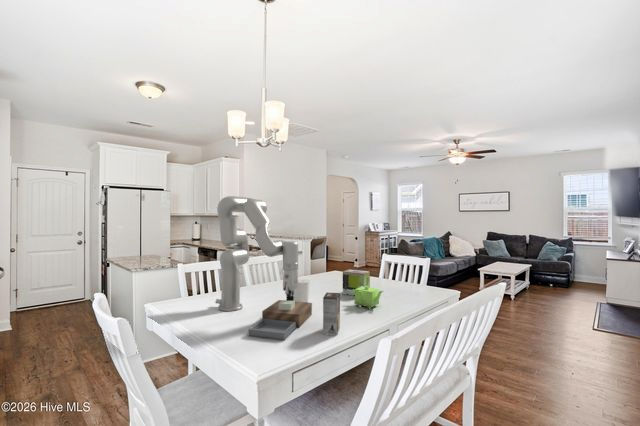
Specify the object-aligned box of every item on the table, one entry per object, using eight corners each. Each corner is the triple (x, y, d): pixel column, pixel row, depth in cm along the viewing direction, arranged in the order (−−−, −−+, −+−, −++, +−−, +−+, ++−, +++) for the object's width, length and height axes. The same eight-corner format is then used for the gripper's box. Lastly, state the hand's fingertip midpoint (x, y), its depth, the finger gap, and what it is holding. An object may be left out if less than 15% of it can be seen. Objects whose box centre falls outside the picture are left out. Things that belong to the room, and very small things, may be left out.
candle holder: (311, 302, 189) (312, 281, 189) (295, 304, 185) (295, 283, 185) (306, 298, 198) (306, 278, 198) (290, 300, 194) (290, 279, 194)
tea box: (370, 294, 211) (370, 271, 210) (363, 297, 202) (363, 273, 202) (349, 291, 219) (349, 268, 218) (341, 294, 210) (342, 270, 210)
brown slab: (262, 323, 152) (262, 311, 152) (278, 311, 172) (278, 300, 172) (299, 327, 148) (299, 314, 148) (311, 314, 167) (311, 302, 167)
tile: (278, 309, 155) (278, 303, 155) (283, 306, 160) (283, 300, 160) (290, 310, 153) (290, 304, 153) (294, 307, 159) (294, 300, 159)
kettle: (384, 309, 177) (384, 288, 177) (359, 311, 174) (359, 290, 174) (373, 301, 192) (373, 282, 192) (350, 303, 189) (350, 283, 189)
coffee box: (325, 327, 149) (326, 291, 149) (340, 328, 148) (340, 292, 148) (322, 334, 140) (322, 297, 140) (337, 335, 139) (337, 297, 139)
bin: (248, 336, 137) (248, 329, 137) (262, 325, 151) (262, 318, 151) (284, 340, 133) (284, 333, 133) (295, 328, 146) (295, 322, 146)
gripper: (292, 269, 153) (292, 308, 153) (302, 264, 168) (301, 300, 168) (277, 268, 155) (277, 307, 155) (288, 264, 170) (288, 299, 170)
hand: (290, 303), depth 162 cm, fingers closed
